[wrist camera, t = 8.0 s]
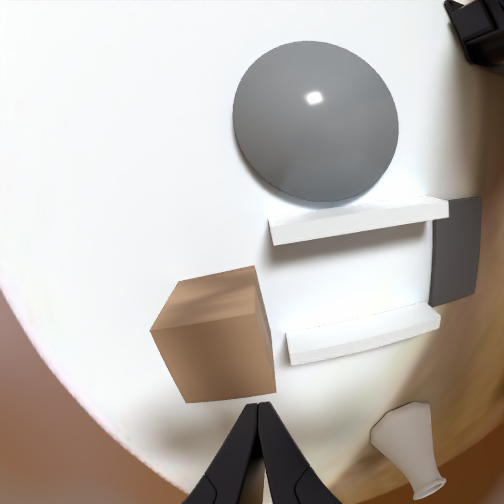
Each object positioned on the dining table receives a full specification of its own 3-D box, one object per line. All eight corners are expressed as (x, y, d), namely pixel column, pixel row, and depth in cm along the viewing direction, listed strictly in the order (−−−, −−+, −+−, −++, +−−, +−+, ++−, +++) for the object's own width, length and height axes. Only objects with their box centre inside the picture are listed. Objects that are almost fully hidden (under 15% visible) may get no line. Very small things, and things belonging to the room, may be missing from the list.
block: (254, 265, 18) (255, 312, 12) (270, 331, 19) (276, 392, 13) (179, 281, 18) (149, 330, 12) (201, 343, 19) (186, 403, 14)
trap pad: (478, 196, 16) (481, 197, 15) (471, 290, 18) (474, 292, 18) (432, 202, 16) (435, 203, 16) (428, 305, 18) (431, 307, 18)
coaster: (375, 45, 13) (379, 42, 12) (403, 190, 16) (407, 191, 15) (221, 54, 14) (219, 51, 13) (249, 212, 16) (249, 214, 16)
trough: (426, 195, 16) (448, 200, 14) (423, 312, 19) (439, 328, 16) (268, 218, 17) (270, 226, 14) (287, 343, 19) (291, 365, 17)
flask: (360, 446, 24) (381, 516, 14) (381, 405, 22) (417, 485, 12) (412, 434, 24) (439, 495, 14) (437, 394, 22) (478, 458, 12)
